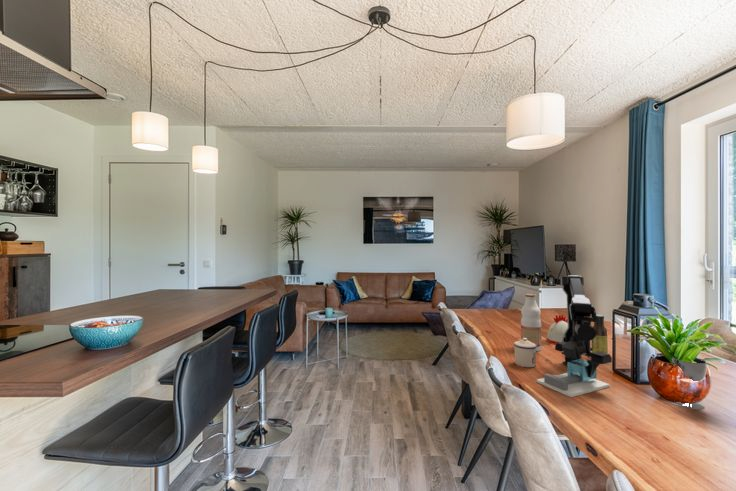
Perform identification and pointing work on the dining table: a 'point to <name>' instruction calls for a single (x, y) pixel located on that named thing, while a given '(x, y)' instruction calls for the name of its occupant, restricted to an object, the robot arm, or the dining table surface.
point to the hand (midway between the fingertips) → (581, 374)
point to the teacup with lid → (525, 353)
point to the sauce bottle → (600, 336)
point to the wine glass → (692, 376)
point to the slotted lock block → (580, 369)
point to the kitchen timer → (557, 330)
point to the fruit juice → (531, 321)
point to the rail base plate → (571, 384)
